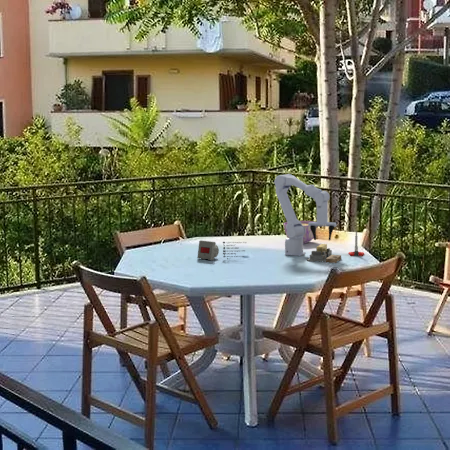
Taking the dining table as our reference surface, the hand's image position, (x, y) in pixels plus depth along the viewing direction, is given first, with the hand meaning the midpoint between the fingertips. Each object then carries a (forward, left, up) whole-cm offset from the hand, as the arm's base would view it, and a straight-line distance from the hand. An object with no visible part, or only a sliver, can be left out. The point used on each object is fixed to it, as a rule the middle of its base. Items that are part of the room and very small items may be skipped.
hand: (322, 239), depth 419 cm
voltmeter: (-50, -19, -10) cm, 54 cm away
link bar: (0, -1, -6) cm, 6 cm away
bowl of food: (-25, +41, -10) cm, 49 cm away
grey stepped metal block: (0, -3, -9) cm, 10 cm away
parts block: (+8, -7, -9) cm, 14 cm away
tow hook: (+15, +13, -10) cm, 22 cm away
